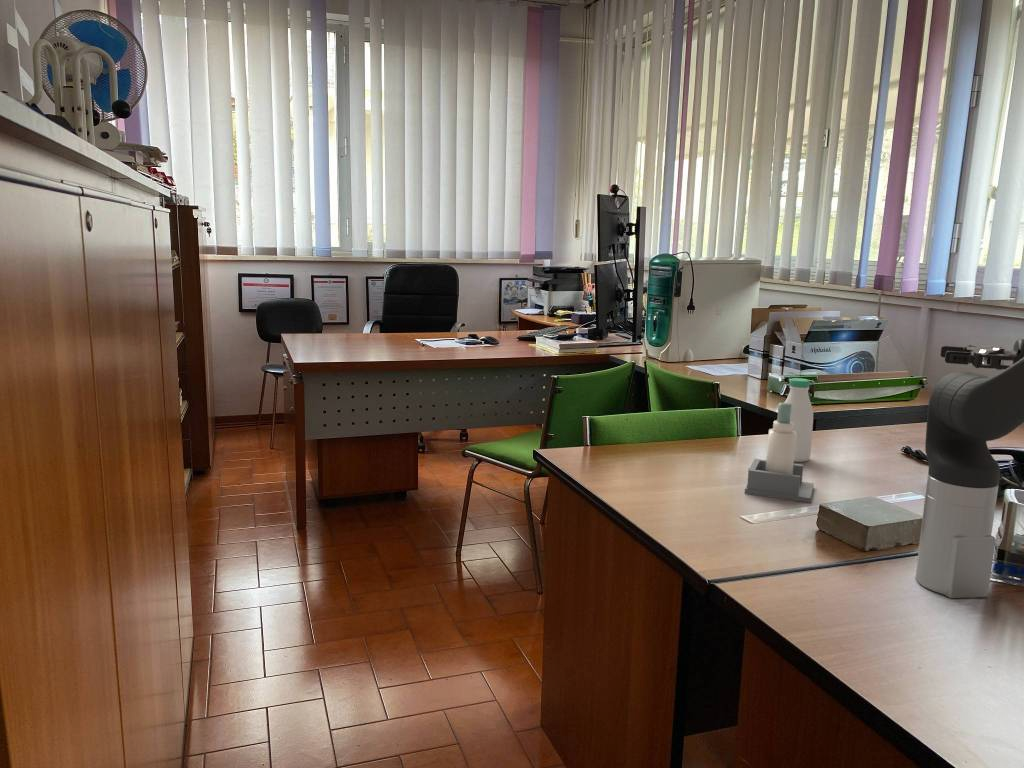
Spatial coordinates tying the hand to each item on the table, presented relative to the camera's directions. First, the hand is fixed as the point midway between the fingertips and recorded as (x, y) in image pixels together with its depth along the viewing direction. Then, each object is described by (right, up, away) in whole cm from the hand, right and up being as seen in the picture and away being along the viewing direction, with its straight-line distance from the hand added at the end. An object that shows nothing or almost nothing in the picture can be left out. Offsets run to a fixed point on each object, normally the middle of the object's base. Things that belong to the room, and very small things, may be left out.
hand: (943, 354), depth 141 cm
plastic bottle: (-25, -28, +18) cm, 42 cm away
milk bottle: (-12, -24, +43) cm, 51 cm away
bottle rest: (-25, -29, +19) cm, 42 cm away
